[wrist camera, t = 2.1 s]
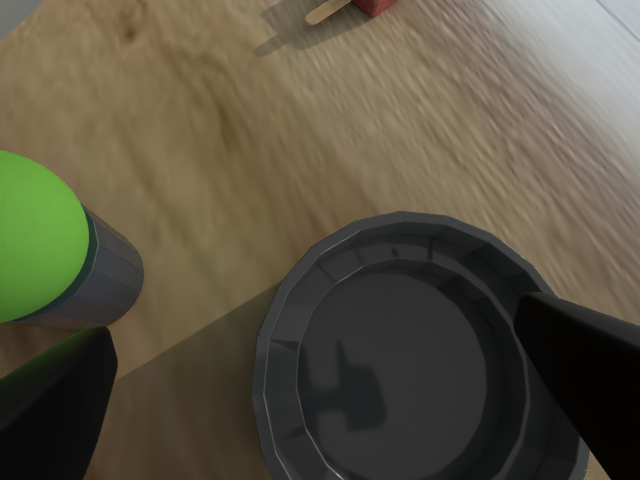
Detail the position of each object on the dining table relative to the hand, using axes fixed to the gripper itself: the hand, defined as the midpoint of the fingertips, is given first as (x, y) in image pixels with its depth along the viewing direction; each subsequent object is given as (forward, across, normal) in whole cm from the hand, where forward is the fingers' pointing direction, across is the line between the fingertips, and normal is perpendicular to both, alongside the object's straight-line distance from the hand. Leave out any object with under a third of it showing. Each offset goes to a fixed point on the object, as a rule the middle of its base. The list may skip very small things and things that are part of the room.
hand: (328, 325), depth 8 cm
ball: (+8, +11, 0) cm, 14 cm away
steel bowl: (+10, -6, +11) cm, 15 cm away
